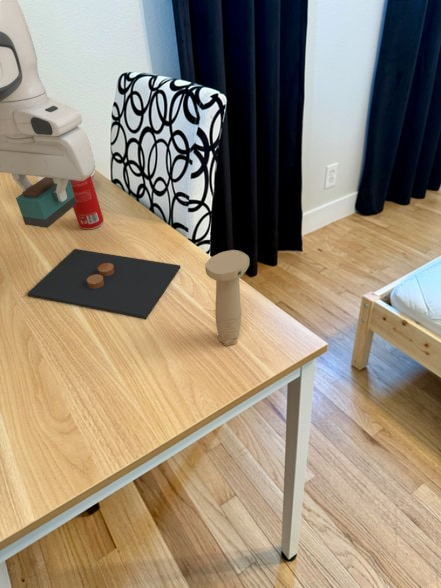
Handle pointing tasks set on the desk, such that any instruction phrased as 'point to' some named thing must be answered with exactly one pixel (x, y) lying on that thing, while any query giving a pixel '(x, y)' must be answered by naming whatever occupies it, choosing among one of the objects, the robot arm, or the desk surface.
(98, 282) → the brown short cylinder
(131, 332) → the desk surface
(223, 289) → the handle
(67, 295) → the mat
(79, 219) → the beverage can
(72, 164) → the robot arm
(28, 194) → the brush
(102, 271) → the grit
